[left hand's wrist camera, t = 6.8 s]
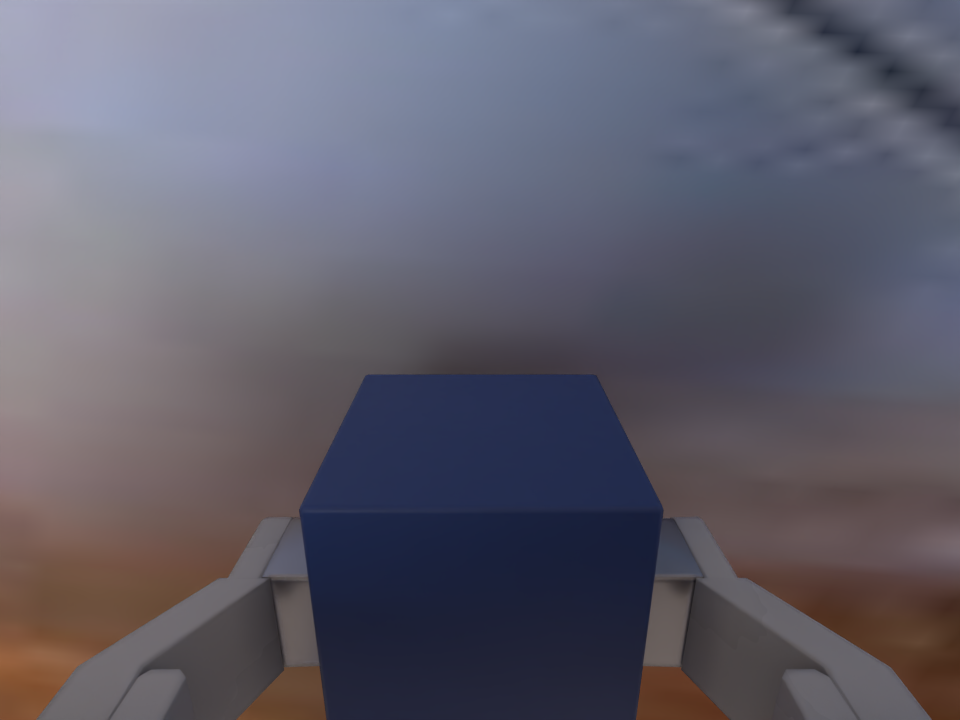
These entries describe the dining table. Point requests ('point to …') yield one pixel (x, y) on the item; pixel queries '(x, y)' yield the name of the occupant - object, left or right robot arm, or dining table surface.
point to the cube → (481, 552)
